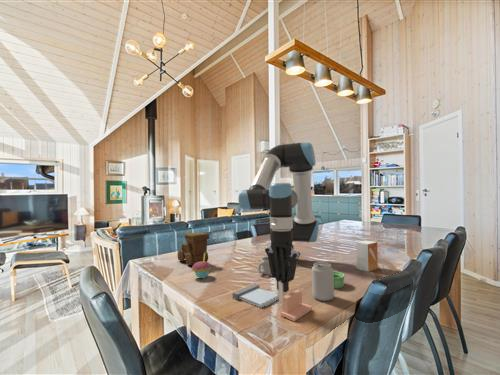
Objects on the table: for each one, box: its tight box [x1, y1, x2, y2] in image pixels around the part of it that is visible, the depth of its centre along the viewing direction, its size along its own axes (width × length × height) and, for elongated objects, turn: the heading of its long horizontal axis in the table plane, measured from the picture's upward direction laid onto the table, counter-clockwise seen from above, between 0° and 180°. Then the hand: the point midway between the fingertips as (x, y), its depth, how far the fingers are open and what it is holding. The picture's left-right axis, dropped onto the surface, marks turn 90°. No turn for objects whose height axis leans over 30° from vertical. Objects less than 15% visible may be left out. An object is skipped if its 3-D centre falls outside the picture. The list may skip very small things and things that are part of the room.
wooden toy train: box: [176, 231, 210, 266], centre depth 140 cm, size 20×11×17 cm, turn 40°
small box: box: [355, 240, 379, 273], centre depth 122 cm, size 8×6×13 cm
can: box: [311, 261, 335, 302], centre depth 91 cm, size 8×8×12 cm
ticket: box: [232, 283, 279, 309], centre depth 92 cm, size 13×12×2 cm
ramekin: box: [333, 270, 345, 289], centre depth 103 cm, size 9×9×4 cm
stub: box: [280, 289, 313, 322], centre depth 80 cm, size 5×10×6 cm, turn 136°
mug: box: [257, 256, 272, 276], centre depth 119 cm, size 10×7×7 cm, turn 135°
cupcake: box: [191, 253, 212, 279], centre depth 116 cm, size 9×8×12 cm
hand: (283, 300), depth 84 cm, fingers closed
